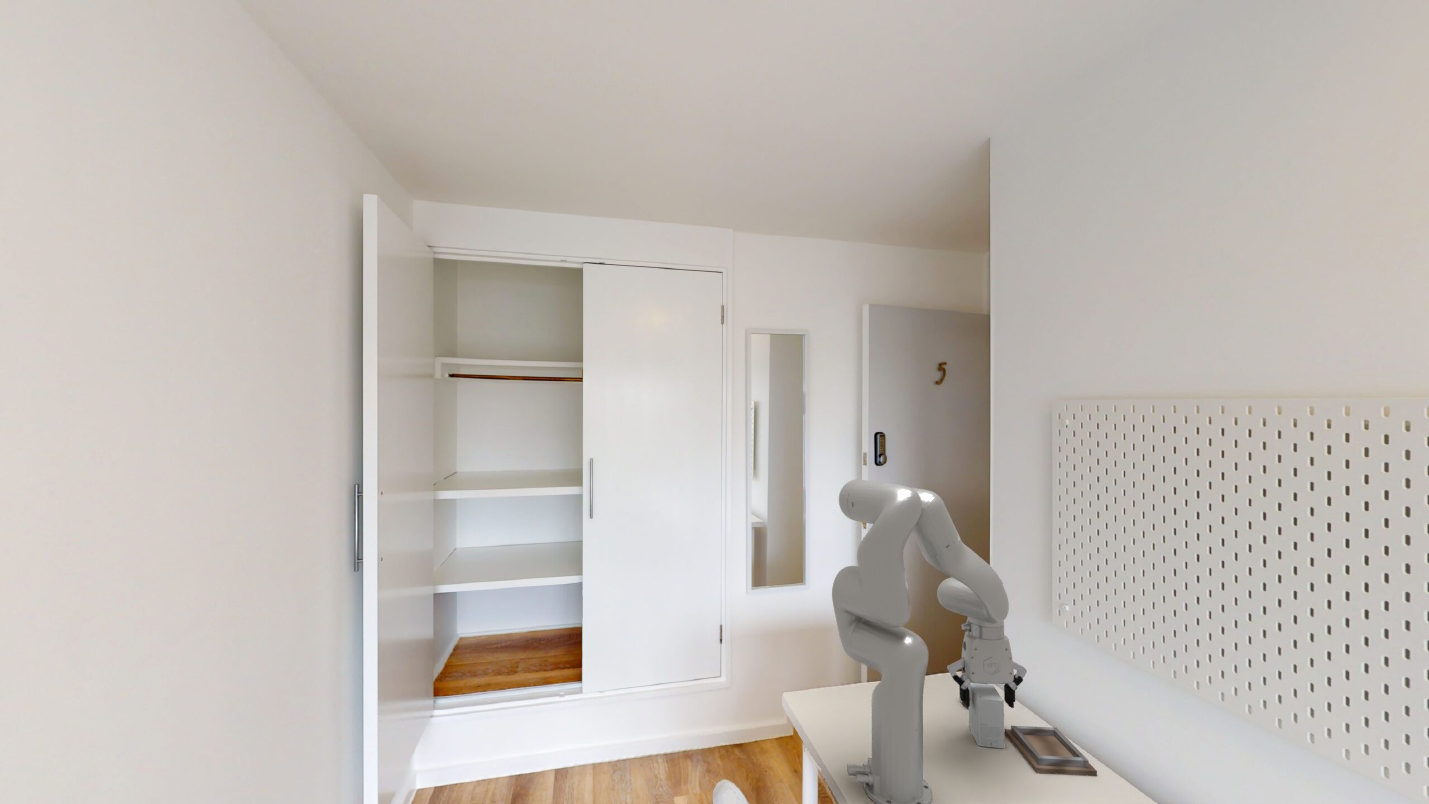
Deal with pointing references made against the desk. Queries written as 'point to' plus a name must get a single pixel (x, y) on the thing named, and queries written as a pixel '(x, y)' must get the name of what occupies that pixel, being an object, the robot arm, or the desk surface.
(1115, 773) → the desk surface
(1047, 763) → the brown flat frame
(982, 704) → the small box
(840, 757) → the desk surface
